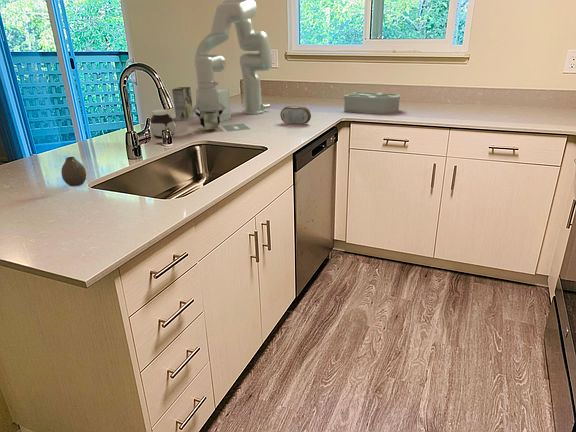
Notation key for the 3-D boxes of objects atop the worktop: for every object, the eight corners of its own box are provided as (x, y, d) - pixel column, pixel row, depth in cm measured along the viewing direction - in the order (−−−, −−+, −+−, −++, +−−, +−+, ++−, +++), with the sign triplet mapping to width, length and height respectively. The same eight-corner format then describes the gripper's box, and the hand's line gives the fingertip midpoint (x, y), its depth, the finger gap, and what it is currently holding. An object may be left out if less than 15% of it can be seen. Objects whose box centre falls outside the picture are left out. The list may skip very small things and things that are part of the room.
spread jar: (154, 140, 191) (150, 113, 186) (149, 135, 200) (145, 109, 196) (181, 136, 196) (177, 110, 191) (175, 131, 205) (171, 106, 201)
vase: (69, 181, 142) (62, 155, 138) (91, 180, 142) (85, 154, 139) (61, 188, 135) (54, 161, 132) (83, 187, 136) (77, 160, 132)
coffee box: (183, 117, 238) (179, 86, 232) (194, 117, 237) (190, 86, 231) (175, 120, 230) (171, 89, 224) (187, 120, 229) (183, 89, 222)
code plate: (243, 124, 216) (243, 123, 216) (250, 130, 204) (250, 129, 203) (221, 126, 212) (221, 125, 212) (227, 132, 200) (227, 131, 200)
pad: (218, 127, 211) (218, 126, 211) (224, 132, 201) (224, 131, 201) (198, 129, 208) (197, 128, 208) (202, 134, 198) (202, 133, 198)
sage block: (215, 125, 207) (214, 111, 205) (218, 128, 202) (216, 113, 199) (203, 127, 206) (201, 112, 203) (205, 129, 200) (203, 114, 198)
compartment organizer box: (355, 107, 253) (355, 91, 249) (402, 110, 239) (404, 94, 236) (343, 111, 240) (343, 95, 237) (392, 115, 226) (394, 98, 223)
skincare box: (222, 118, 231) (220, 88, 225) (232, 119, 228) (229, 88, 222) (211, 121, 225) (208, 90, 219) (221, 122, 222) (218, 91, 215)
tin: (311, 124, 212) (311, 106, 209) (309, 125, 210) (309, 107, 206) (282, 122, 217) (281, 105, 214) (280, 124, 214) (279, 106, 211)
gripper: (223, 83, 202) (226, 122, 209) (185, 86, 197) (190, 126, 204) (226, 85, 196) (230, 125, 203) (188, 88, 190) (193, 129, 198)
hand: (210, 125), depth 203 cm, fingers closed on sage block, 6 cm apart
